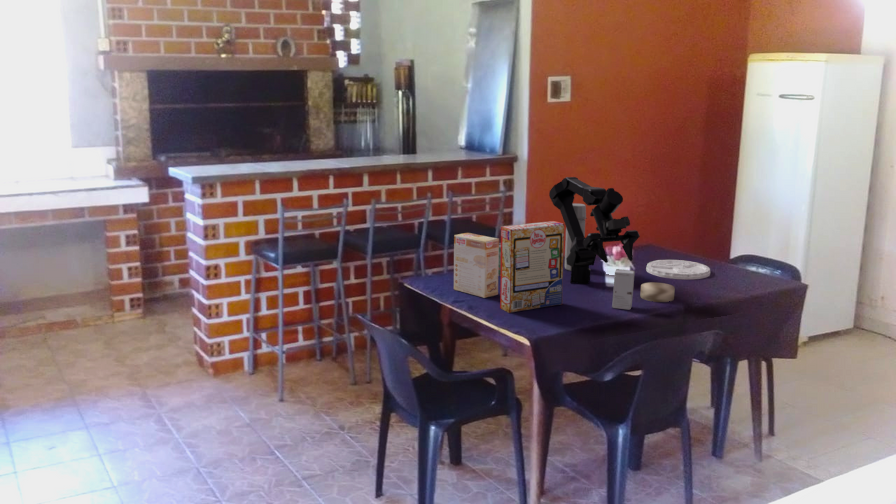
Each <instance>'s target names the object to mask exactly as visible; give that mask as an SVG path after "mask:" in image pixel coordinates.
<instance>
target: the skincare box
mask: <svg viewBox="0 0 896 504" xmlns="http://www.w3.org/2000/svg"><path fill="white" fill-rule="evenodd" d="M635 273H636V272H635V270H630V269H620V268H616V269H615V271H614V278H613V279H614V281H613V291H612V304H611V308H612V309H621V310H631V308H632V306H633V298H634V296H633V295H634V285H635V284H634V281H635Z"/></svg>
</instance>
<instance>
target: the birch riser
mask: <svg viewBox="0 0 896 504" xmlns="http://www.w3.org/2000/svg"><path fill="white" fill-rule="evenodd" d="M675 288H676V287H675V286H674V285H672V284H668V283H666V282H665V283H664V282H653V281H652V282H644V283H642V284H641V285H640V293H639V294H640V298H641V299H642V300H645V301H646V302H647V301H648V302H652V301H653V303H668V302H669V301H670V302H673V301H674V299H675Z"/></svg>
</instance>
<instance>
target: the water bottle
mask: <svg viewBox="0 0 896 504" xmlns="http://www.w3.org/2000/svg"><path fill="white" fill-rule="evenodd" d="M586 205H587V204H584V203H573V207H574V210H575V213H576V215H577V218H578V221H579V223H580V226H581V229H582V232H583V234H584V237H585V238H586V236H585V235H586V219H587V206H586ZM564 244H565V246H564V269H565V270H567V271H570V272H571V266H569V265H567V260H566V258H567V257H568V256H569V254H570V248H571V245H572V242H571V239H570V236H569V233H568V231H567V228H566V227H565V243H564Z"/></svg>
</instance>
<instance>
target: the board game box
mask: <svg viewBox="0 0 896 504" xmlns="http://www.w3.org/2000/svg"><path fill="white" fill-rule="evenodd" d="M564 241H565V222H564V223H563V222H559V221H556V220H550V221H542V222H532V223H524V224H516V225H515V224H514V225H506V226H505V225H504V226H500V244H501V276H500V287H499V288H500V289H499V291H500V294H499V296H500V297H499V299H500V302H499V309H501V310H503V311H505V312H506V313H508V314H511V313H515V312H516V313H517V312H521V311H528V310H533V309H540V308H541V309H542V308H546V307H552V306H559V305H560V306H561V305H563V300H564V299H563V289H564V287H563V286H564V283H563V281H564V280H563V279H564V253H565V246H564V244H565V243H564Z"/></svg>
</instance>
